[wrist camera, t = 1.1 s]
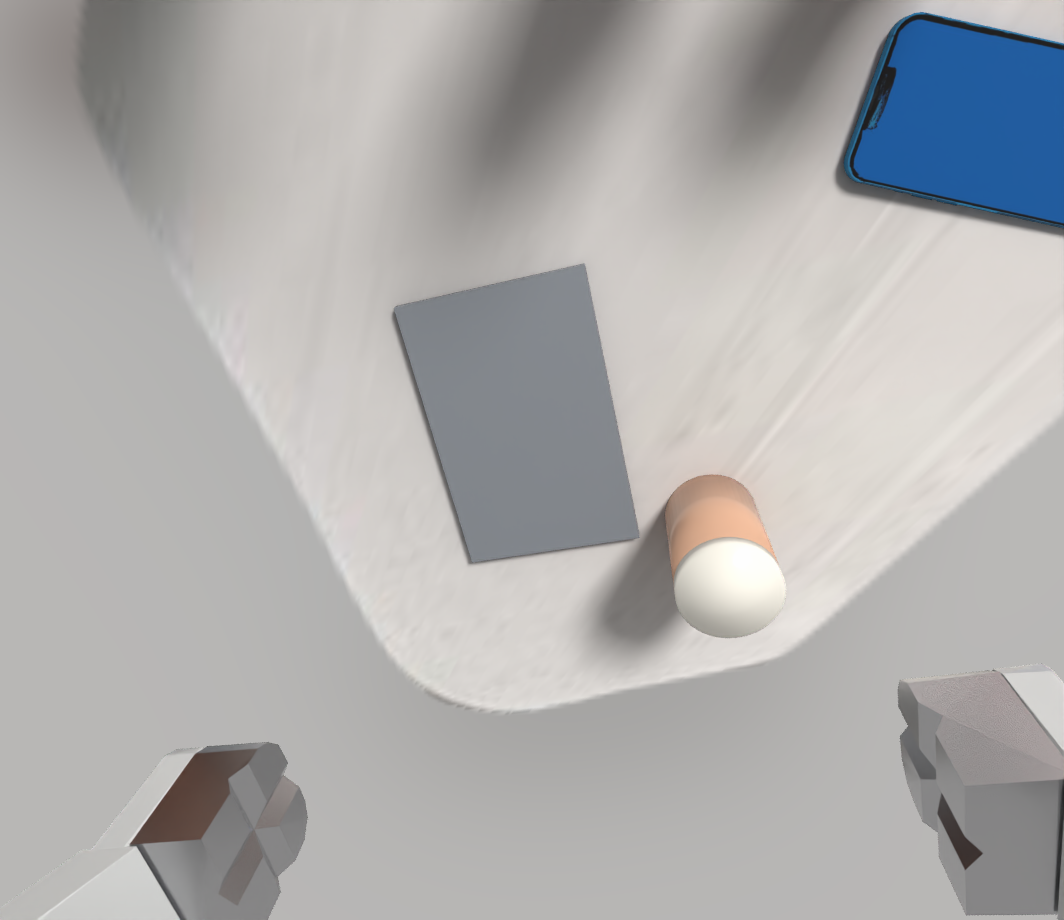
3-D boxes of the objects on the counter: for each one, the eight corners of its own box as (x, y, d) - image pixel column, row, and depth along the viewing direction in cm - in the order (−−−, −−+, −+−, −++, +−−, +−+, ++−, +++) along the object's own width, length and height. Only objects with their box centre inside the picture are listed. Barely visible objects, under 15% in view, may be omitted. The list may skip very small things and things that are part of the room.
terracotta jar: (658, 482, 43) (667, 555, 35) (750, 467, 42) (780, 539, 34) (672, 558, 45) (683, 643, 37) (760, 546, 44) (791, 631, 36)
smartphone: (1137, 245, 35) (840, 179, 35) (1124, 243, 35) (834, 178, 35) (1229, 79, 32) (903, 6, 32) (1212, 80, 32) (894, 9, 32)
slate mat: (396, 305, 40) (393, 308, 40) (584, 263, 38) (584, 265, 38) (473, 557, 47) (472, 562, 46) (639, 533, 44) (639, 537, 44)
